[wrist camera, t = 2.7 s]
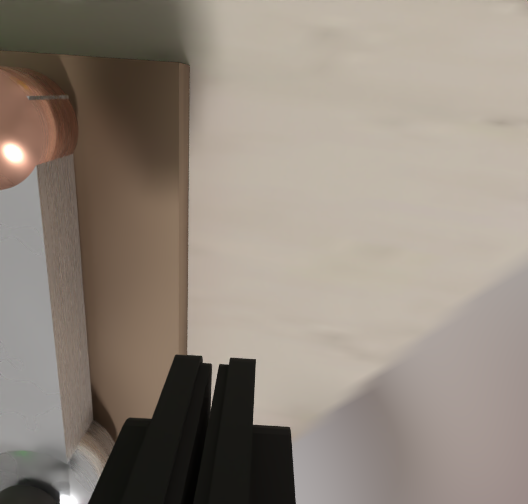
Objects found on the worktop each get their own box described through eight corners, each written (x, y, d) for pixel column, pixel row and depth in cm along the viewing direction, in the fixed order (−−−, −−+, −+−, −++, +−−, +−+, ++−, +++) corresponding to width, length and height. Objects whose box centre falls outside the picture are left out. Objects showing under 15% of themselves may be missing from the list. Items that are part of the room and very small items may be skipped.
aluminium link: (121, 500, 17) (101, 553, 15) (12, 492, 17) (-22, 543, 15) (97, 72, 12) (62, 69, 10) (-57, 62, 12) (-121, 56, 10)
